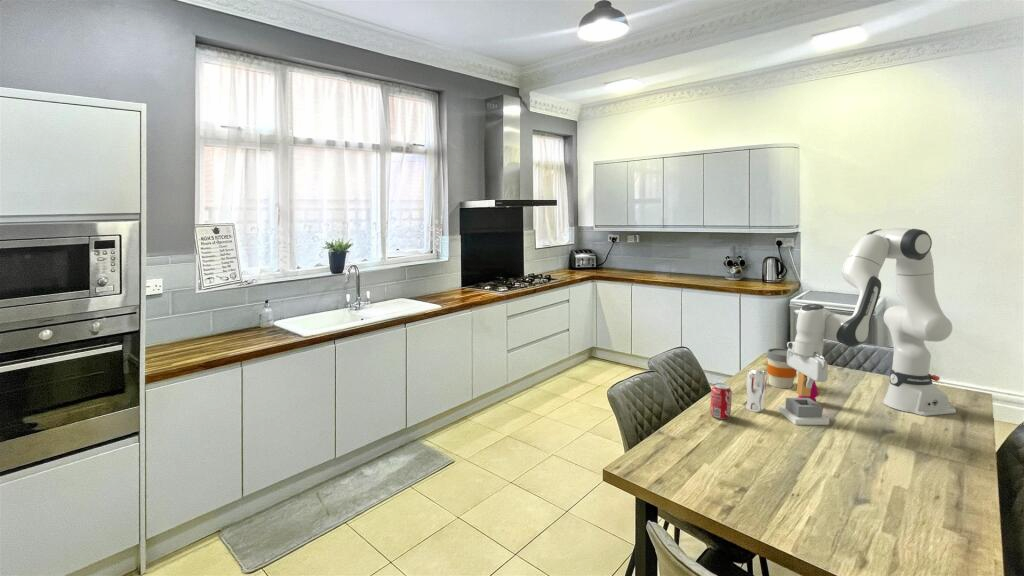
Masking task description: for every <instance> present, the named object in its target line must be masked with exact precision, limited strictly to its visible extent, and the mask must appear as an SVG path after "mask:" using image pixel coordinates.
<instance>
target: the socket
mask: <svg viewBox="0 0 1024 576" xmlns="http://www.w3.org/2000/svg"><path fill="white" fill-rule="evenodd" d="M777 407H778V408H777V412H778V413H780V414H781V415H782V416H783V417H785V419H788V421H790V422H791V423H793V424H794V425H795V426H797V425H798V426H800V425H801V426H802V425H807V426H808V425H810V426H812V425H813V426H814V425H816V426H818V425H821V426H824V425H826V426H827V425H830V418H828V417H827V416H826V415H824V414H823V409H824V406H823V405H821V404H820V403H818V402H817V401H816V402H815V401H813V400H811V399H810V398H798V397H785V405H778V406H777Z"/></svg>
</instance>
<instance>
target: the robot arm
mask: <svg viewBox="0 0 1024 576" xmlns="http://www.w3.org/2000/svg"><path fill="white" fill-rule="evenodd" d="M932 245H933V241H932V238H931V236H930V234H929V233H928V232H927V231H926V230H924V229H923V230H922V229H918V228H905V227H904V228H903V227H899V228H898V227H895V228H886V229H881V228H880V229H874V230H872V231H869V232H867V233H866V234H865V235H863V236H862V237H860V238H859V239H858V241H857V242H856V243H855V244H854V245H853V247H852V248H851V250H850V251H849V253H848V255H847V256H846V259H845V260H844V262H843V265H842V266H841V275H842V277H843V279H844V281H846V282H847V283H848V284H850V285H851V286H853V287H854V288H856V289H857V290H858V292H859V293H858V295H859V296H858V299H857V302H856V304H855V308H854V310H853V314H851V315H850V316H847V315H844V314H843V315H842V314H838V313H835V312H832V311H830V310H828V309H826V307H825V306H824V305H822V304H819V303H817V304H816V303H813V304H812V303H808V304H804V305H802V306H801V307H800V308H799V310H798V315H797V319H796V327H795V328H796V335H795V339H794V341H787V343H786V346H787V349H788V351H787V364H788V365H789V366H790V367H792V368H794V369H795V370H797V372H796V373H797V374H796V377H797V378H798V374H799V372H801V373H803V374H804V375H806V376H807V379H808V380H807V382H805V387H807V388H812V384H813V382H814V381H815V383H816V382H818V383H825V382H826V381H827V380H828V375H829V374H828V372H829V371H828V362H827V360H826V359H825V356H824V355H823V350H824V339H827V340H829V341H833V342H837V343H839V344H842V345H845V346H846V347H849V348H856V347H858V346H861V345H862V344H864V343H865V342H866V341H867V340H868V338H869V335H870V330H871V322H872V319H873V316H874V313H875V310H876V309H877V308H876V307H877V304H878V301H879V299H880V295H881V291H882V282H881V280H880V279H879V275H880V271H881V269H882V267H883V265H884V263H885V261H886V259H891V260H896V262H895V285H896V288H895V289H896V294H897V296H898V297H899V298H900V300H901V301H902V303H903V304H902V305H899V304H898V305H893V306H892V305H891V306H890V307H889V308H887V309H886V310H885V312H884V314H883V322H884V324H885V325H886V327H887V328H888V330H889V332H890V338H891V340H892V346H893V355H892V356H893V358H892V366H891V367H890V371H889V384H888V388H887V391H886V394H885V396H884V399H883V400H882V403H883V404H884V405H886V406H887V407H890V408H891V409H895V410H898V411H902V412H907V413H912V414H916V415H919V416H923V417H925V416H926V417H927V416H928V417H929V416H939V415H940V416H941V415H950V414H956V413H957V410H956V408H954V407H953V406H952V405H950V404H949V397H948V394H946V393H945V392H944V391H943V390H942V389H940V387H938V386H937V385H936V384H934V383H933V381H935V382H939V381H940V380H941V379H940V376H939V375H936V374H931V373H930V365H931V358H932V356H931V355H932V354H931V352H930V351H929V349H928V348H927V346H926V344H925V341H926V342H937V343H939V342H943V341H945V340H947V339H948V338H949V337H950V336H951V334H952V332H953V324H952V322H951V320H950V319H949V318H948V317H947V316H946V315H945V314H944V312H943V310H942V308H941V305H940V303H939V301H938V298H937V295H936V289H935V270H934V269H935V268H934V267H935V266H934V259H933V255H932V252H931V248H932Z"/></svg>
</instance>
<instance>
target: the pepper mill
mask: <svg viewBox="0 0 1024 576" xmlns="http://www.w3.org/2000/svg"><path fill="white" fill-rule="evenodd" d="M818 396H819V389H818V387H817V384H816V381H814V382H813V384H812V388H811V393H810V396H800V395H798V396H797V398H810V399H811V400H813V401H815V402H816V403H817V399H816V398H817V397H818Z"/></svg>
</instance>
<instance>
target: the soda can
mask: <svg viewBox="0 0 1024 576" xmlns="http://www.w3.org/2000/svg"><path fill="white" fill-rule="evenodd" d="M732 392H733V391H732V390H731V386H730V385H729V384H727V383H719V382H717V383H716V382H715V383H714V384H713V386H712V387H711V391H710V411H709V412H710V415H711V416H713V418H715V419H718V420H726V419H728V418H730V417H731V413H732V412H731V410H732V396H733V395H732Z"/></svg>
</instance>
